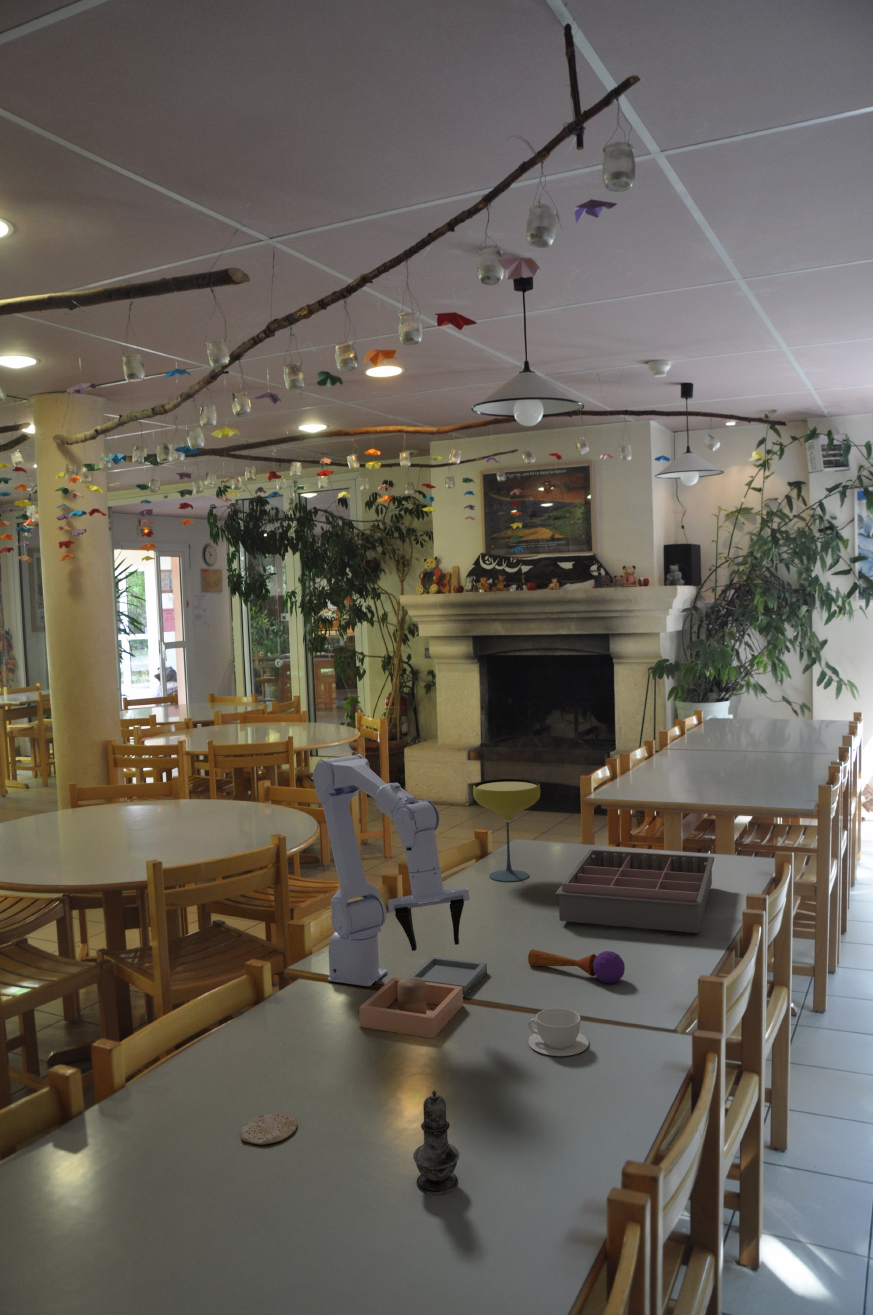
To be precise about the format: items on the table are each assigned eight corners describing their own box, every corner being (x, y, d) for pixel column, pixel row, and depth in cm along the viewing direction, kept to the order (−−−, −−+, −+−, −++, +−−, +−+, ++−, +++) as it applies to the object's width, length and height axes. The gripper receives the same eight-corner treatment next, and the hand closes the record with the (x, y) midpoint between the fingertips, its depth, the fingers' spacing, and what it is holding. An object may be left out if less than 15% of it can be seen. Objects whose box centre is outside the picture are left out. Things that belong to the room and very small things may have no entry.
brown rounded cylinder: (394, 1020, 168) (392, 987, 168) (405, 1009, 173) (404, 976, 172) (419, 1024, 166) (418, 990, 166) (430, 1012, 171) (429, 980, 171)
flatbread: (272, 1112, 139) (272, 1105, 139) (308, 1128, 134) (308, 1121, 134) (228, 1137, 133) (228, 1130, 132) (264, 1155, 128) (263, 1148, 128)
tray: (407, 988, 182) (407, 978, 182) (431, 966, 193) (431, 956, 193) (465, 996, 177) (465, 986, 177) (486, 973, 188) (486, 963, 188)
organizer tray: (715, 887, 240) (714, 849, 240) (702, 941, 203) (701, 895, 203) (590, 878, 252) (589, 842, 251) (555, 927, 214) (554, 884, 214)
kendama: (539, 941, 195) (629, 951, 183) (539, 971, 194) (629, 983, 183) (524, 944, 190) (616, 954, 179) (524, 975, 189) (616, 987, 178)
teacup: (593, 1035, 160) (592, 1008, 160) (583, 1062, 151) (582, 1033, 151) (535, 1028, 163) (534, 1002, 163) (522, 1055, 154) (521, 1026, 154)
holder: (359, 1027, 166) (359, 1007, 166) (393, 996, 179) (393, 977, 178) (433, 1038, 160) (432, 1018, 160) (462, 1005, 173) (462, 987, 173)
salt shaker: (412, 1170, 123) (409, 1080, 122) (457, 1167, 123) (454, 1077, 123) (415, 1198, 117) (412, 1104, 116) (462, 1194, 117) (459, 1100, 117)
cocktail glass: (461, 877, 256) (459, 785, 255) (507, 863, 269) (504, 776, 267) (511, 890, 243) (508, 794, 242) (556, 875, 255) (554, 783, 254)
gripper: (381, 878, 166) (393, 957, 165) (463, 866, 165) (475, 945, 164) (386, 873, 173) (397, 948, 172) (464, 861, 172) (476, 937, 171)
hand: (435, 946), depth 168 cm, fingers open, 7 cm apart
